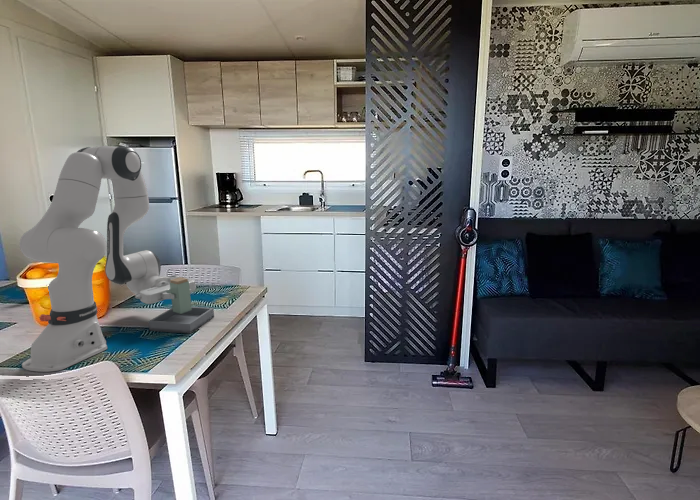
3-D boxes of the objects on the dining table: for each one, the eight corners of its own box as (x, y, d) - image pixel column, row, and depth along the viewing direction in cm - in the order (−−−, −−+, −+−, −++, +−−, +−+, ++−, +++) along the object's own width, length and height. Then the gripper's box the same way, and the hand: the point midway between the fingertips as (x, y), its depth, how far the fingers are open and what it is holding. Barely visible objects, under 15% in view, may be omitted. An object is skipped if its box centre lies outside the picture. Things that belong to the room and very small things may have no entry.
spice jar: (180, 313, 144) (177, 281, 141) (172, 311, 146) (169, 280, 144) (191, 309, 148) (188, 278, 145) (183, 307, 150) (180, 276, 148)
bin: (190, 333, 139) (189, 324, 138) (149, 330, 141) (148, 321, 141) (214, 316, 154) (213, 308, 153) (176, 314, 157) (175, 305, 156)
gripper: (131, 287, 143) (154, 294, 136) (181, 274, 160) (204, 278, 153) (133, 304, 144) (156, 311, 137) (182, 289, 161) (205, 294, 154)
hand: (182, 294), depth 145 cm, fingers closed on spice jar, 5 cm apart
